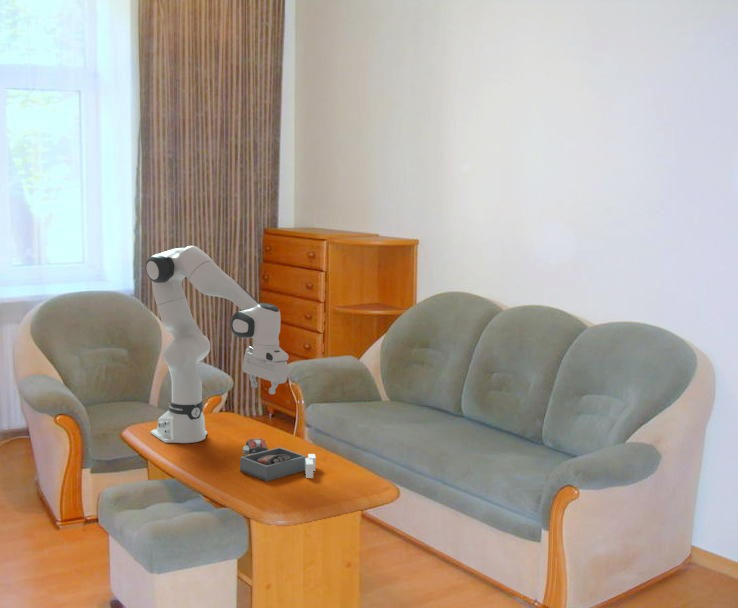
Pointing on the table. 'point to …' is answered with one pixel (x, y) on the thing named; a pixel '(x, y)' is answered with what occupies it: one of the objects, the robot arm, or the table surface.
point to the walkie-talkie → (254, 446)
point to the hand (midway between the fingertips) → (262, 390)
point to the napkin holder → (310, 465)
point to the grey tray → (273, 470)
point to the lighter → (272, 459)
